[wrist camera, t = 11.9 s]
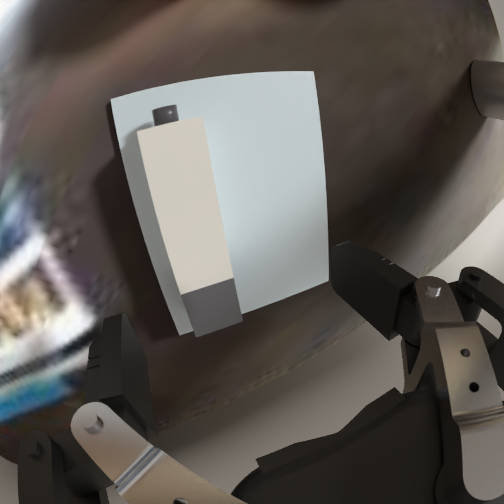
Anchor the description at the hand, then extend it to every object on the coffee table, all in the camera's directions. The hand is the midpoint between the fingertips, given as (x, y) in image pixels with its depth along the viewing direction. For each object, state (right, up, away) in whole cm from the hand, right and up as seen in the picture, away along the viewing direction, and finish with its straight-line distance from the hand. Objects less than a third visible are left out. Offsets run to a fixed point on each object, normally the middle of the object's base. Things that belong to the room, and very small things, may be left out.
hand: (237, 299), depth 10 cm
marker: (-4, +4, +8) cm, 10 cm away
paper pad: (0, +5, +10) cm, 11 cm away
